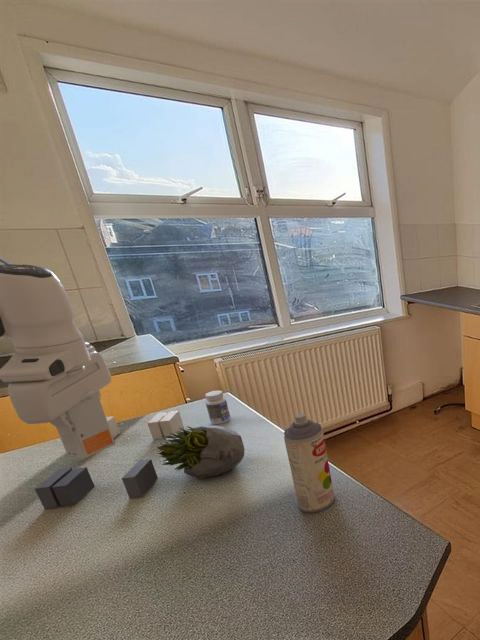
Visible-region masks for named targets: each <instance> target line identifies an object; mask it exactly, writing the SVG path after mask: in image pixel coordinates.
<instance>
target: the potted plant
mask: <svg viewBox="0 0 480 640" xmlns="http://www.w3.org/2000/svg"><path fill="white" fill-rule="evenodd" d="M186 427H187V429H184V428H183V429H182V428H180V427H179V428H180V429H181V431H178V432H176V433H177V434H173V433H171V434H173V435H171V436H170V435H168V436H166V437H167V438H163V439H162V440H164V442H160V443H159V445H160V446H157V447H156V448H157V450H159V451H158V453H157V455H158V456H157V457H159V458H164V459H162V460H161V461H159V462H162V465H163V466H174V465H178V466H177V467H175V468H174V470H176V471H177V472H178V471H181V470H183V473H184V474H186V475H188V476H190V477H191V478H194V479H201V478H208V477H214V476H219V475H223V474H224V473H226V472H228V471H230V470H232V469H233V468H235V467H237V466H238V465H239V464H241V462H242V460H243V459H244V457H245V446H244V442H243V439H242V436H241V434H240V433H238V431H235V430H232V429H230V428H227V427H224V426H218V425H212V424H210V425H203V426H196V427H191V426H189V425H186Z"/></svg>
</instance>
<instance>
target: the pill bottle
mask: <svg viewBox="0 0 480 640" xmlns="http://www.w3.org/2000/svg"><path fill="white" fill-rule="evenodd" d="M204 396H205V406H206V410H207V413H208V416H209V421H210V423H211V424H214V425H218V424H219V425H220V424H225V423H227V422H228V421H230V420H231V414H230V411H229V406H228V401H227V399H226V397H225V396H224V392H223V391H222V390H212V391H209V392H207V393H205V394H204Z"/></svg>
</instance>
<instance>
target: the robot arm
mask: <svg viewBox="0 0 480 640" xmlns="http://www.w3.org/2000/svg"><path fill="white" fill-rule="evenodd" d="M75 317H76V316H75V311H74V308H73V305H72V303H71V300H70V297H69V295H68V294H67V291H66V289H65V288H64V286H63V284H62V282H61V281H60V279H59V278H58V276H57V275H56V274H55V273H54V272H53V271H52V270H50V269H47V268H45V267H43V266H38V265H33V264H18V263H17V264H16V263H11V262H9V261H8V260H6V259H5V258H2V256H0V339H9V340H11V341H12V344H13V347H14V349H15V352H14V353H13V354H12V355H11V357H10V358H9V360H8V361H7V362H6V363H5V364H4V365H3V366H2V367H1V368H0V381H1V382H3V383H9V384H8V385H7V395H8V397H9V400H10V403H11V404H12V407H13V409H14V411H15V412H16V414H17V417H18V418H19V420H20V421H22V422H23V423H26V424H28V425H38V424H39V425H40V424H47V423H50V424H51V425H52V426H54V427H55V428H56V427H57V428H56V430H57V429H58V431H59V433H60V434H61V435H67V434H71V433H72V432H73V431H75V430H76V428H75V427H74V423H73V422H71V423H69V422H68V421H67V420H66V419H65V418H66V417H67V416H66V413H65V412H66V411H68V410H69V409H71V408H73V407H74V406H76V405H77V404H79V403H80V400H81V397H82V396H84V395H85V394H87V393H88V392H90V391H95V392H97V393H98V396H99V399H100V400H101V396H102V395H101V391H100V390H102V389H103V388H105V387H106V386H108V385H109V384H111V382H112V374H111V372H110V370H109V367H108V365H107V363H106V361H105V359H104V357H103V355H101V353H100V352H98V351H97V350H96V348H95V346H94V345H92V344H90V343H89V342H86V341H85V338H84V335H83V334H82V332H81V331H80V330H79V329H78V327H77V325H76V321H75ZM58 431H57V432H58ZM59 433H58V434H59Z"/></svg>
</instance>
